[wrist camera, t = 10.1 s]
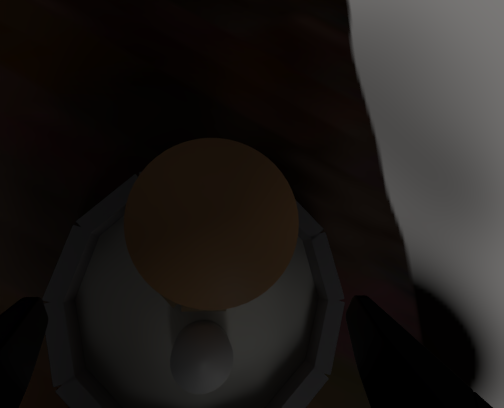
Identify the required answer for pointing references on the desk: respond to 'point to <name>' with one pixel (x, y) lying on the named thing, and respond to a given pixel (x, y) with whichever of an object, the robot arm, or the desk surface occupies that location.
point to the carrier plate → (155, 322)
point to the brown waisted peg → (211, 224)
